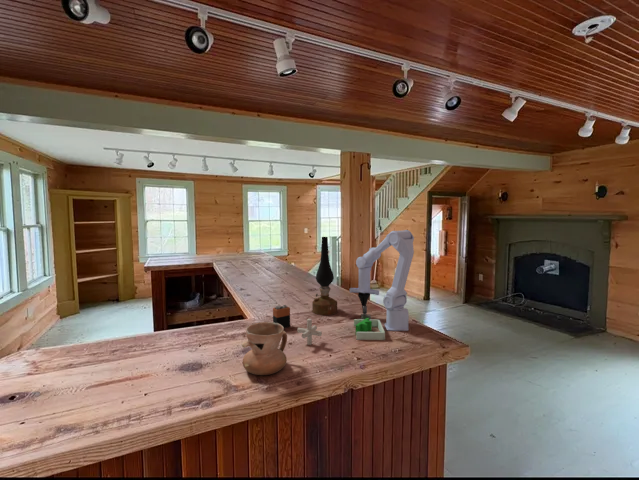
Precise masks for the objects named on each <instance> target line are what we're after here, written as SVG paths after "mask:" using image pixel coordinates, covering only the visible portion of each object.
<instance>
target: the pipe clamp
mask: <svg viewBox="0 0 639 480" xmlns="http://www.w3.org/2000/svg"><path fill="white" fill-rule="evenodd" d="M372 327H373V326H372V321H369V318H366V319H364V320H363V321H361V322H360V323H358V324H357V325H356V326H355V333H356V332H373V331H372V330H373V329H372Z"/></svg>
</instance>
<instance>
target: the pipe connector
mask: <svg viewBox="0 0 639 480" xmlns="http://www.w3.org/2000/svg"><path fill="white" fill-rule="evenodd" d="M312 324H313V323H312V318H307V320H306V328H303V327H297V330H296V331H297V333H301V337H302V339H306V341H307V342H306V343H307V345H308V346H312V344H313V339H312V338H313V336H318V337H322V334H323V331H321V330H317V329H318V327H317V325H312Z"/></svg>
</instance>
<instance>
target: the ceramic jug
mask: <svg viewBox="0 0 639 480" xmlns="http://www.w3.org/2000/svg"><path fill="white" fill-rule="evenodd" d="M284 329H285V328H284V327H283V326H282V325H281V324H279V323H274V322H273V321H270V322H269V321H263V322H262V321H261V322H257V323H255V322H254V323H252V324H250V325H249V326H247V327H246V328H245V334H246V338H247V341H244V342H242V343H241V347H242V348H244V349H246V348H248V347H250V348H251V349H250V350H249V351H247V352H246V353H245V354H244V355H243V358H242V367H243V368H244V370H245V371H246V372H248V373H250V374H252V375H255V376H268V375H272V374H276V373H278V372H280V371H281V370H282V369H284V368H285V366H286V364H287V360H288V359H287V356H286V354H285V352H284V350H285V347H286V345H287V342H288V334H287V332H286V331H285V330H284Z"/></svg>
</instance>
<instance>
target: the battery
mask: <svg viewBox="0 0 639 480" xmlns="http://www.w3.org/2000/svg"><path fill="white" fill-rule="evenodd" d="M272 322H274V323H279V324H281V325H282V326H283V327H284V329H287V328H290V327H291V307H289V306H288V305H286V304H283V305H276V306H274V307H273V308H272Z"/></svg>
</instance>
